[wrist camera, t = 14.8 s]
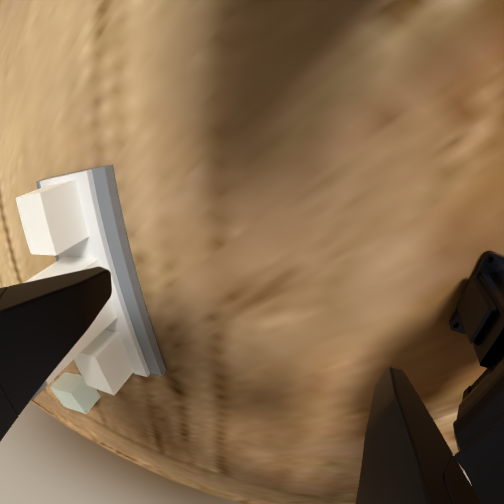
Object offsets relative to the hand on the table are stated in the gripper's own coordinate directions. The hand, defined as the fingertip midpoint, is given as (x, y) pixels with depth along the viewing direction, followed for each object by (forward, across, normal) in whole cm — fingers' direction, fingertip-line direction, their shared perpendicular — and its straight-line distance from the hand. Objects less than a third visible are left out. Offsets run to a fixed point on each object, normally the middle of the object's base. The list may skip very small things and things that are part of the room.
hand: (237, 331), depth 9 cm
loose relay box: (+13, +24, +34) cm, 44 cm away
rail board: (+13, +17, +12) cm, 25 cm away
